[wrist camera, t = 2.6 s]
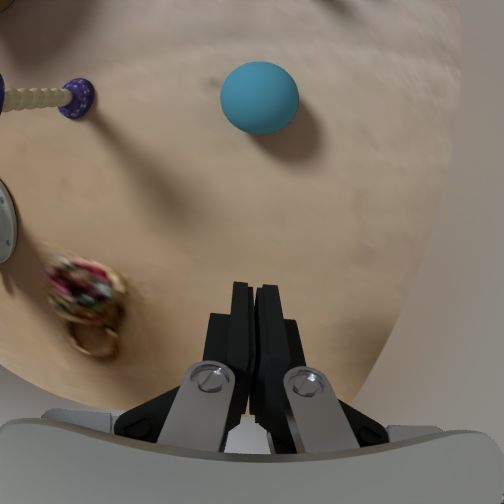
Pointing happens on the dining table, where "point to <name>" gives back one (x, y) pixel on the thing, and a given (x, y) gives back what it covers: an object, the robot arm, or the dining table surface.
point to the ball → (259, 98)
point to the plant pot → (5, 4)
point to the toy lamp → (50, 98)
